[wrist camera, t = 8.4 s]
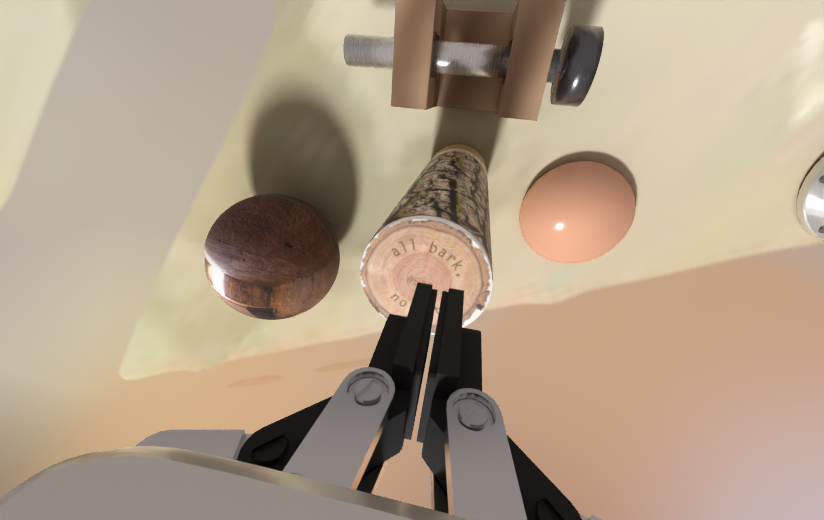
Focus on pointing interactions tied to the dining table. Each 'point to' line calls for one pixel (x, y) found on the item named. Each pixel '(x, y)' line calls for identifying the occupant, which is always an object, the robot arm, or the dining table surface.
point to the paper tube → (435, 239)
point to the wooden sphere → (271, 257)
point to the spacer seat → (577, 212)
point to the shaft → (495, 60)
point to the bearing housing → (430, 20)
